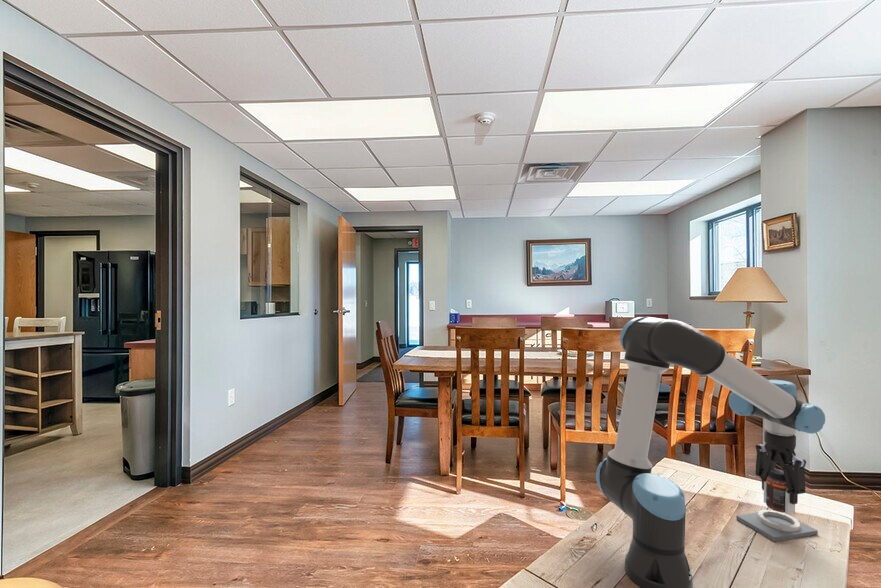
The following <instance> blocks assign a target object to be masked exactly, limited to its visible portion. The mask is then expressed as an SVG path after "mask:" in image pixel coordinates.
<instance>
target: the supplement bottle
mask: <svg viewBox="0 0 881 588" xmlns="http://www.w3.org/2000/svg"><path fill="white" fill-rule="evenodd" d="M770 474H771V475H770V476H768V477H767V480H766V503H765V504H766V507H768V509H769V510H774V511H778V512H783V513H785V491H788V487H787V484H786V480H785V476H784V472H783V469H776V468H774V469H771V473H770ZM785 514H786V513H785Z"/></svg>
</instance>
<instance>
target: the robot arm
mask: <svg viewBox="0 0 881 588" xmlns="http://www.w3.org/2000/svg"><path fill="white" fill-rule="evenodd" d="M619 342H620V345H621V346H622V349H623V350H624V351H625V353H624V358H623V359H624V362H625V363H626V365H627V367H628V369H627V375H626V379H625V380H626V381H625V387H624V393H623V396H622V397H623V399H622V404H621V411H620V414H619V415H620V416H619V420H618V421H619V422H618V428H617V433H616V438H615V439H616V440H615V444H614V448H613V449H611V450H610V451H608V452H607V456H606V457H605V458H603V459H602V461H601V462H599V464H598V465H597V468H596V473H595V479H596V484H597V487H598V489H599V490H600V492H601V493H602V495H604V496H605V498H606V499H607V500H609V501H610V502H611V503H613V504H614V505H615V506H616V507H617V508H618V509H620V510H621V511H622V512H623V513H624V514H625V515H626V516H628V517H629V518H631V520H632V538H631V542H630V545H629V549H628V551H627V552H626V554H625V558H624V569H625V572H626V575H627V576H628V577H629V579H631V580H632V582H634V583H635V584H636V585H638V586H639V587H641V588H693V573H692V570H691V567H690V565H689V564H690V563H689V562H688V558H687V555H686V551H685V547H686V546H685V544H686V543H685V540H686V511H687V505H686V498H685V494H684V492H683V490H682V488H681V487H680V486H679V484H677V483H676V482H674V481H673V480H671V479H670V478H668V477H665V476H660V475H659V474H655V473H652V469H653V464H652V463H651V462H650V460H649V458H648V456H649V455H648V454H649V451H650V444H651V437H652V433H653V427H654V420H655V416H656V409H657V403H658V397H659V391H660V386H661V379H662V376H663V375H662V374H663V373H665V372H667V371H669V369H670V364H671V365H674V366H678V367H682V368H684V369H688V370H690V371H691V372H694V373H695V374H696V375H698V376H703V377H704V376H706V377H709V379H711V380H713V381H715V382H717V383H718V384H720V385H721V386H722V387H724V388H726V389H727V390H728V391H731V393H729V396H728V405H729V407H730V409H731V410H732V412H733V413H734V414H735V415H737V416H744V417H750V416H753V417H757V418H760V419H763V420H764V422H763V424H764V426H763V428H764V429H765V430H764V431H763V432H764V433H763V435H764V437H763V442H764V443H762V444H755V449H756V457H755V458H756V459H755V460H756V461H755V473H754V474H755V476H757V477H759V478H760V480H761V490H762V491H763V503H764V504H766V480H767V477H768V476H770V475H771V474H770V473H771V469H776V465H777V463H778V464H779V467H780V468H781V470H782V471H783V472H784V476H785V480H786V484H787V487H788V491H785V514H788V515H793V514H795V513H796V505H797V504H798V502H799V499H798V497H799V495H801V494H806V491H807V490H806V475H805V467H806V465H807V460H806V459H801V458H800V457H798V456H797V455H796V452H795V449H796V447H797V436H796V435H795V434H796V433H797V432H804V433H807V434H810V435H811V434H812V435H813V434H817V433H819V432H820V431H822V429H823V428H824V425H825V424H826V414H825V412H824V411H823V409H822V408H821V407H819V406H817V405H814V404H811V403H809V402H803V401H802V400H800V399H798V395H797V385H796V384H795V383H793V382H791V381H788V380H781V379H780V380H779V379H767V378H766V377H764V376H763V375H762V374H760V373H758V372H756V371H755V370H753V369H752V368H750V367H749V366H747V365H746V364H744V363H743V362H741V361H740V360H739V359H737V358H736V357H733V356H732V355H731V354H729V353H728V352H727V351H726V348H725V347H724V346H723V344H721V343H720V342H718V341H717V340H715V339H713V338H712V337H710V336H709V335H707V334H706V333H704V332H703V331H701V330H700V329H697V328H696V327H694V326H693V325H690V324H688V323H686V322H684V321H681V320H677V319H667V318H659V317H652V316H638V317H634V318H632V319H630V320H629V321H628V322H626V324H625V325H624V326H623V327H622V328H621V331H620V336H619Z"/></svg>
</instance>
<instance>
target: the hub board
mask: <svg viewBox="0 0 881 588" xmlns="http://www.w3.org/2000/svg"><path fill="white" fill-rule="evenodd" d="M735 518H736V520H737V521H739V522H740V523H743V524H744V525H746V526H747V527H749V528H750V529H752V530H754V531H756V532H758V533H759V534H761V535H762V536H764V537H766V538H768V539H769V540H771V541H772V542H774V543H775V542H781V541H786V540H793V539H798V538H805V537H810V536H816V535H815V534H818V535H819V531H818V529H815V528H813V527H812V526H811V525H810V526H809V525H808V524H806V523H804V522H802V521H800V520H798V519H797V518H795V517H793V516H792V515H790V514H786V513H783V512H778V511H774V510H772V509H761V510H758V512H757V511H756V512H750V513H743V514H737V515H736V517H735Z"/></svg>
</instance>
